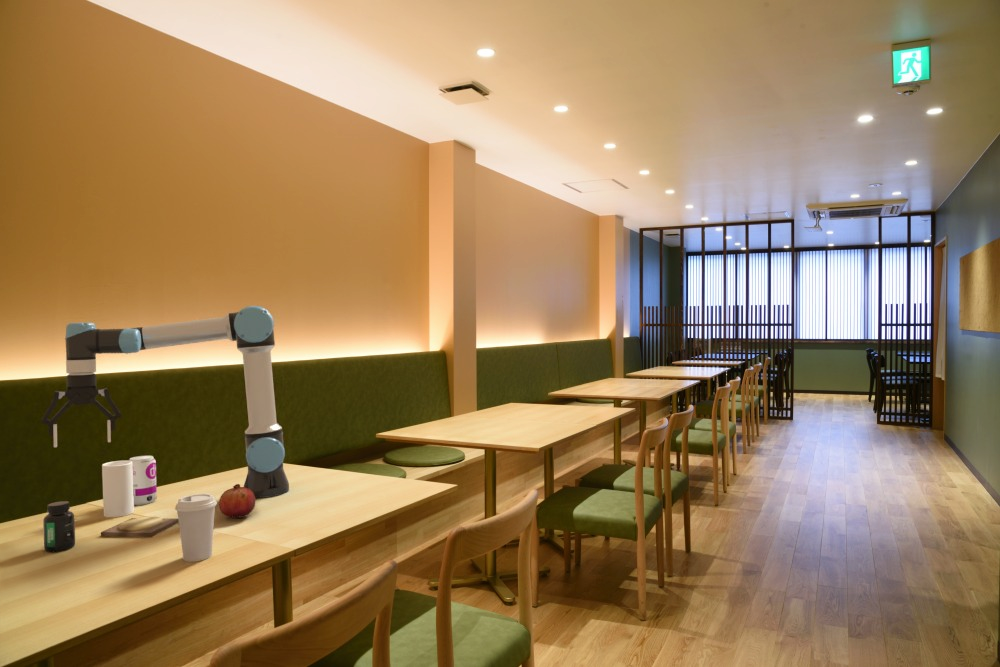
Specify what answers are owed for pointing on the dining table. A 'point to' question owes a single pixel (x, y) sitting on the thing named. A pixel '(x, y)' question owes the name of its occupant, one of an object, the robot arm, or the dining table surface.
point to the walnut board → (140, 527)
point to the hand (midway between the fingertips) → (82, 444)
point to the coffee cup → (196, 525)
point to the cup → (118, 488)
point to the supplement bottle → (59, 527)
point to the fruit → (237, 502)
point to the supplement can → (144, 479)
